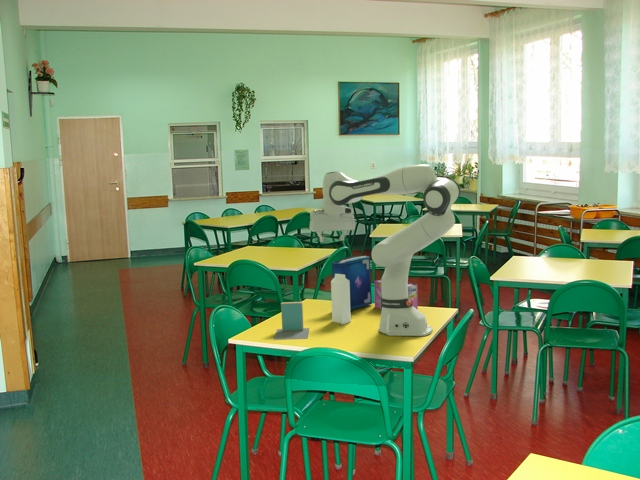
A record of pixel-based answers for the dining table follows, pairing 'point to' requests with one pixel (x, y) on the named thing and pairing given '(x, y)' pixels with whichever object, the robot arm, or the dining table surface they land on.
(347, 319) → the milk
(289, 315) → the tile
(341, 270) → the book
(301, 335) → the mat
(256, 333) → the dining table surface
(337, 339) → the dining table surface
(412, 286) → the gum box
